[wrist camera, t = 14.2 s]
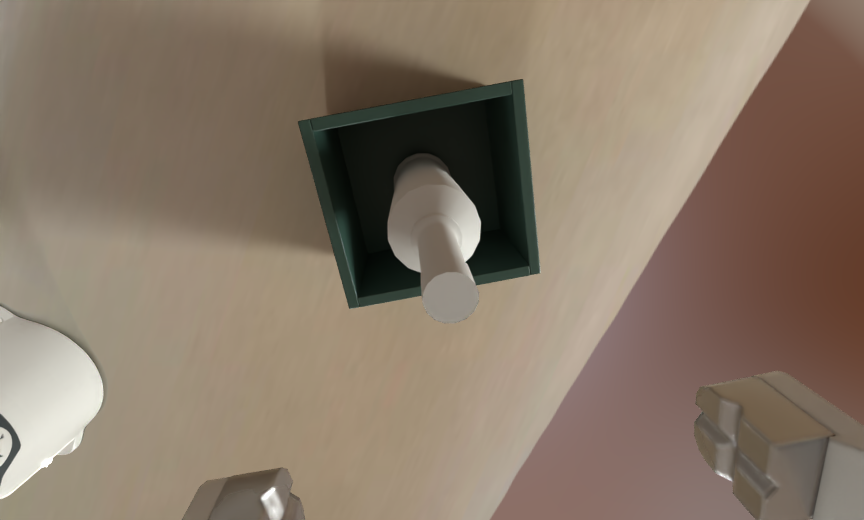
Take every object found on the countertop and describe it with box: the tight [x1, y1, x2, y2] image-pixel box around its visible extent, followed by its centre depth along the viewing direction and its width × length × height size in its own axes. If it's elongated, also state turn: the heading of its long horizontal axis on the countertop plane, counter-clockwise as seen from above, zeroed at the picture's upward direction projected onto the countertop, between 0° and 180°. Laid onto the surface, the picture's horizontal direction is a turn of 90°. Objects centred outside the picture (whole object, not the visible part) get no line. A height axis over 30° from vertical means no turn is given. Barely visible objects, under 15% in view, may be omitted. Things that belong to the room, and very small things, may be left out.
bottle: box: [388, 153, 481, 323], centre depth 27 cm, size 5×5×25 cm
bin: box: [298, 79, 540, 309], centre depth 34 cm, size 15×14×11 cm
